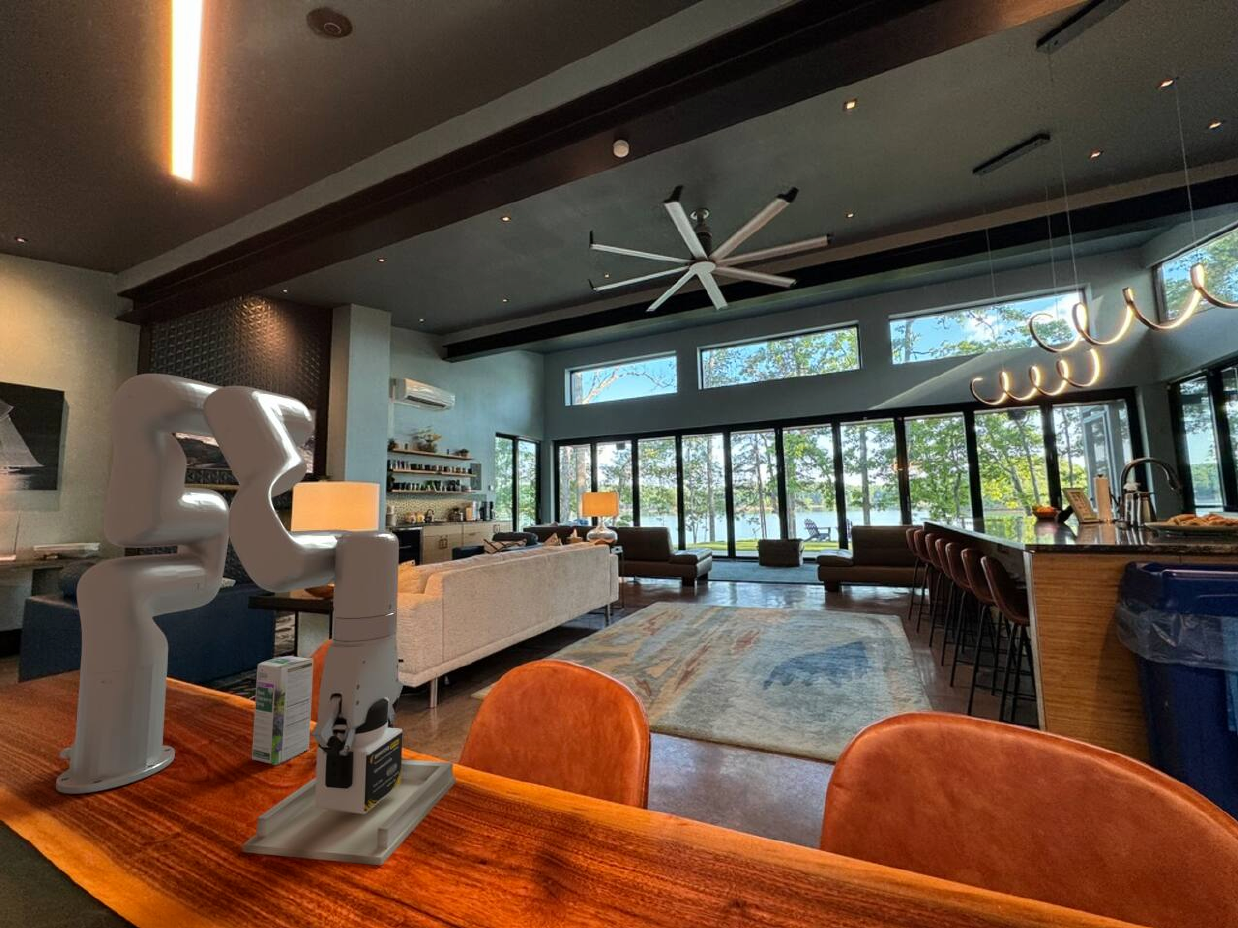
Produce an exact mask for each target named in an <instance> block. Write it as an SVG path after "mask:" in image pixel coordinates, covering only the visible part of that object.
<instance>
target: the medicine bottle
mask: <svg viewBox="0 0 1238 928" xmlns="http://www.w3.org/2000/svg"><path fill="white" fill-rule="evenodd" d="M388 703H389V700H388V698H382V699H380V700H379V701H377V702H376V703H374V704H373V705H372V706H371V707H370V709H369V710H368V713H367V717H366V721H365V723H363V724H362V725H360V726H359V727H357V728H356V731H355V735H354V738H353V741H352V744H351V747H350V750H349V751H350V752H353V778H352V785H351V786H350V787H349V788H348V789H343V788H331V787H326V785H325V776H326V754H323V750H322V749H321V748H320V747H319V746H318V748H317V751H316V752H317V753H316V768H315V769H316V770H315V771H316V773H315V777H316V791H315V807H316V808H319V809H327V810H335V811H343V812H351V813H359V814H366V813H367V812H368V811H369V810H370V809H372V808H373V807H374V806H375V805H376V804H378V803H379V802H380V801H381V800H382V799H383V798H385V797H386V796H387V795H388V794H389V793H390V792H392V791H393V790H394V789H395V788H396V787H398V786H399V785H400V784H401V764H402V757H403V755H402V753H403V729H402V728H398V727H396V728H395V727H393V728H387V727H388ZM340 724H347V719H340ZM345 732H346V731H339V732H338V735H337V737H338V738H339V739H340V740H341V741H343V738H344V735H345Z"/></svg>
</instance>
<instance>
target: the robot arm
mask: <svg viewBox="0 0 1238 928" xmlns="http://www.w3.org/2000/svg"><path fill="white" fill-rule="evenodd" d="M109 411H110V412H109V421H110V422H109V423H110V432H111V437H112V443H113V444H112V445H113V459H112V460H113V461H112V466H111V470H110V471H111V473H110V478H109V484H108V490H107V495H106V496H107V497H106V504H105V510H104V517H103V534H104V536H105V538H106V540H107V541H108V542H109V543H110V544H112V545H114V546H117V547H121V548H154V547H155V548H159V547H160V548H161V547H175V546H176V547H177V551H176V552H175V553H166V554H165V553H161V554H160V553H159V554H158V553H157V554H142V555H134V556H133V555H132V556H131V555H130V556H122V557H115V558H112V559H111V558H110V559H106V560H103V561H101V562H98V563H96V564H95V565H92V566H91V567H89V568H88V569H87V570H86V571H85V572H83V573H82V575H81V577H80V578H79V580H78V583H77V585H76V586H77V587H76V600H77V608H78V611H79V613H78V614H79V616H80V617H79V618H80V624H81V660H80V674H79V675H80V677H79V689H78V690H79V691H78V702H77V703H78V704H77V712H76V713H77V714H76V715H77V716H76V729H75V740H74V741H73V743H72V744H71V746H70V747H64V748H63V749H62V750H61V751H60V754H59V757H60V758H61V759H69V768H68V769H66V770H65V771H64V772H62V773H61V774H60V775H59V776H58V777H57V778H56V782H55V783H56V784H55V789H56V790H57V791H58V792H60V793H62V794H67V795H68V794H69V795H74V794H75V795H76V794H91V793H95V792H100V791H101V792H102V791H106V790H110V789H113V788H118V787H121V786H122V787H123V786H125V785H128V784H131V783H135V782H137V781H140V780H143V779H144V778H147V777H149V776H151V775H154V774H156V773H158V772H160V771H161V770H164V769H165V768H166V767H168V766H169V765H170V764H171V763H172V762H173V761H174V759H175V757H176V756H175V754H176V750H175V748H173V747H172V746H169V745H167V744H166V745H164V743H163V741H164V740H163V739H164V724H165V723H164V722H165V712H166V711H165V708H166V696H167V695H166V691H167V678H168V677H167V675H168V661H169V658H168V656H169V655H168V654H169V643H168V639H167V637H166V635H165V633H164V632H163V631H162V630H161V628H160V627H159V626H158V625H157V624H156V622H155V620H154V619H153V617H156V616H160V615H164V614H171V613H176V612H182V611H186V610H193V609H197V608H201V607H203V606H205V605H207V604H209V603H211V601H213V600H214V599H215V598H216V597H217V594H218V593H219V590H221V589H220V588H221V586H222V582H223V578H224V577H223V576H224V573H225V565H226V559H227V552H228V545H229V540H230V543H231V545H232V548H233V550H234V552H235V554H236V556H237V557H238V559H239V561H240V563H241V566H242V567H243V569H244V570H245V572H246V574H247V575H248V576H249V578H250V579H251V580H252V581H253V583H255V584H256V585H257V586H258V587H259V588H261V589H263V590H265V591H266V592H267V591H268V592H271V593H287V592H293V591H295V592H296V591H299V590H306V589H310V588H315V587H323V586H331V585H333V604H332V605H333V607H332V608H333V609H332V630H331V633H332V634H331V643H330V644H329V645H328V648H327V651H326V654H325V658H324V664H323V667H322V668H323V669H322V673H321V682H320V688H319V696H318V697H319V699H318V711H317V722H316V724H315V725H314V727H313V729H312V730H311V736H312V738H313V739H314V741H315V742H316V743H317V746H318V748H319V747H320V748H321V749H322V750H323V754H326V776H325V785H326V787H331V788H343V789H348V788H349V787H350V786H351V785H352V778H353V752H350V751H349V750H350V747H351V744H352V741H353V738H354V735H355V731H356V728H357V727H359V726H360V725H362V724H363V723H365V721H366V717H367V713H368V710H369V709H370V707H371V706H372V705H373V704H374V703H376V702H377V701H379V700H380V699H382V698H388V700H389V703H388V727H387V728H394V725H393V723H394V722H396V721H395V720H396V717H397V716H396V713H395V711H396V710H397V708H398V705H399V702H400V701H399V698H400V695H401V693H402V690H403V686H404V684H403V682H402V681H401V680H399V654H398V643H397V642H398V641H397V628H398V594H399V593H398V590H399V589H398V588H399V584H398V583H399V561H400V559H399V557H400V556H399V555H400V554H399V553H400V552H399V551H400V546H399V545H400V544H399V539H398V536H397V535H396V534H394V533H393V532H390V531H382V530H381V531H369V530H368V531H352V530H349V529H348V530H347V529H310V530H291V531H288V530H287V529H286V528H285V526H284V525H283V523H282V521H281V519H280V517H279V516H278V513H277V512H276V509H275V508H274V504H273V500H272V498H274V497H277V496H279V495H282V494H283V493H285V492H287V491H289V490H290V489H292V488H294V487H295V486H296V485H298V484H299V483H300V482H301V481H302V480H303V479H304V478H305V475H306V474H307V470H308V464H307V461H306V460H305V457H304V456H303V454H302V453H301V451H300V450H299V448H300V447H302V446H304V445H305V444H306V443H307V442H308V441H309V439H310V438H311V436H312V433H313V431H314V421H313V416H312V414H311V412H310V410H309V409H308V407H307V406H306V405H305V404H304V403H303V402H302V401H300V400H299V399H297V398H294V397H292V396H289V395H285V394H280V393H277V392H271V391H268V390H265V389H259V388H255V387H250V386H245V385H228V386H221V385H216V384H212V383H208V382H205V381H204V382H203V381H199V380H196V379H191V378H186V377H182V376H177V375H171V374H163V373H143V374H139V375H134V376H133V377H130V378H129V379H127V380H125V381H124V382H123V383H122V384H121V385H120V386H119V388H118V389H117V390H116V392H115V394H114V396H113V398H112V401H111V405H110V409H109ZM174 434H181V435H182V434H183V435H191V436H197V437H204V438H212V439H214V440H215V443H216V444H217V446H218V448H219V450H220V451H221V453H222V454H223V457H224V459H225V461H226V462H227V464H228V466H229V468H230V470H231V472H232V475H234V478H235V479H236V481H237V482H238V485H239V488H238V489H237V491H236V493H235V494H234V497H233V498H232V501H231V504H230V505H228V501H227V500H226V499H225V498H224V496H223V495H222V494H221V493H219V492H218V491H216V490H213V489H209V488H203V487H202V488H201V487H185V480H186V472H187V467H188V465H187V464H188V462H187V457H186V455H185V452H184V450H183V448H182V445H181V444H180V443H179V441H178V440H177V438H176V437H175V436H174ZM340 719H347V724H340ZM339 731H346V732H345V735H344V738H343V741H341V740H340V739H339V738H338V737H337V735H338V732H339Z"/></svg>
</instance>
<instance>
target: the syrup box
mask: <svg viewBox="0 0 1238 928" xmlns="http://www.w3.org/2000/svg"><path fill="white" fill-rule="evenodd" d="M313 669H314V658H306V657H299V656H293V655H286V656H279V657H276V658H272V659H269V660H266V661H262V662H260V663H258V664H257V671H256V684H255V685H256V687H255V689H256V690H255V702H254V704H255V705H254V716H253V717H254V718H253V719H254V720H253V721H254V722H253V735H252V736H253V738H252V751H251V753H252V755H251V759H252V761H259V762H263V763H267V764H270V765H273V766H277V765H280V764H282V763H284V762H287V761H289V760H290V759H292V758H295V757H296V756H299V755H301V754H302V753H304V751H305V752H307V751H308V749H309V750H310V737H311V736H310V735H311V734H310V733H311V714H312V695H313V694H312V693H313V674H314V673H313V672H314V671H313ZM306 750H307V751H306Z"/></svg>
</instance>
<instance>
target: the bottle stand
mask: <svg viewBox="0 0 1238 928" xmlns="http://www.w3.org/2000/svg"><path fill="white" fill-rule="evenodd" d="M441 762H443V763H441ZM453 765H454V763H453V762H448V761H436V760H435V761H433V760H418V759H416V760H415V759H402V764H401V784H400V785H399V786H398V787H396V788H395V789H394V790H393V791H392V792H390V793H389V794H388V795H387V796H386V797H385V798H383V799H382V800H381V801H380V802H379V803H378V804H376V805H375V806H374V807H373V808H372V809H370V810H369V811H368V812H367V813H366V814H359V813H351V812H343V811H335V810H327V809H319V808H316V807H315V791H316V776H315V777H314V778H313V779H311V780H310V781H308V782H307V783H306V784H304V785H302V786H301V787H299V788H298V789H297V790H296V791H294V792H292V793H290V794H289V795H288V796H287V797H285V798H284V799H282V800H281V801H279V802H278V803H277V804H275V805H273V807H271V808H269V809H268V810H267V811H265V812H264V813H262V814H261V815H259V816H258V817H256V818H257V822H256V834H255V835H254V836H252V837H251V838H250V839H248V840H247V841H246V842H244V843H243V844H242V853H248V854H249V853H250V854H261V855H269V856H279V857H280V856H282V857H291V858H300V859H312V860H323V861H333V862H342V863H352V864H362V865H363V864H364V865H374V866H382V865H383V864H384V863H385V862H386V861H387V860H388V859H389V858H390V856H392V854H394V852H395V851H396V850H397V849H398V847H400V845H401V844H402V843H403V842H404V841H405V840H406V839H407V838H408V837H409V835H410V834H411V833H412V832H413V831H414V830H415V829H416V828H417V826H419V824H420V823H421V822H422V821H423V820H424V819H425V817H426V816H428V814H429V813H430V812H431V811H432V810H433V809H434V807H436V805H437V804H438V803H439V802H440V800H441V799H443V798H444V796H445V795H446V794H447V793H448V792H449V791H450V789H452V787H453V786H454V785H455V784H456V780H457V779H456V776H453V774H454V773H453V768H454V767H453Z"/></svg>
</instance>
